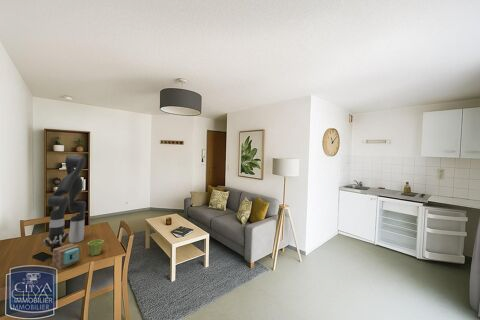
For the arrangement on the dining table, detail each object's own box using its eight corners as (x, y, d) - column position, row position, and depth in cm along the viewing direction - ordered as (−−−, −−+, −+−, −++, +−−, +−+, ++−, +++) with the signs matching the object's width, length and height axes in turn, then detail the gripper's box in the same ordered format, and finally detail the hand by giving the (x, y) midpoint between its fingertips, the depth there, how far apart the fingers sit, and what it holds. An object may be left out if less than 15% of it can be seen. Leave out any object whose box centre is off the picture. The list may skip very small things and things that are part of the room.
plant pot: (92, 250, 147) (93, 239, 148) (105, 251, 148) (106, 239, 148) (83, 256, 138) (84, 244, 138) (97, 257, 139) (98, 244, 139)
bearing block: (52, 266, 125) (53, 249, 125) (70, 259, 134) (71, 243, 134) (60, 269, 122) (61, 251, 122) (77, 261, 132) (78, 245, 132)
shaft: (51, 252, 131) (52, 243, 131) (56, 250, 134) (56, 241, 134) (72, 258, 124) (72, 249, 124) (76, 257, 127) (77, 247, 127)
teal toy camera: (63, 263, 124) (63, 252, 124) (75, 258, 130) (76, 247, 130) (66, 264, 123) (66, 253, 123) (78, 259, 129) (79, 248, 129)
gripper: (65, 221, 140) (64, 245, 140) (40, 227, 127) (38, 254, 126) (72, 223, 137) (70, 247, 137) (47, 229, 124) (45, 256, 124)
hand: (55, 250), depth 132 cm, fingers closed on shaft, 2 cm apart
